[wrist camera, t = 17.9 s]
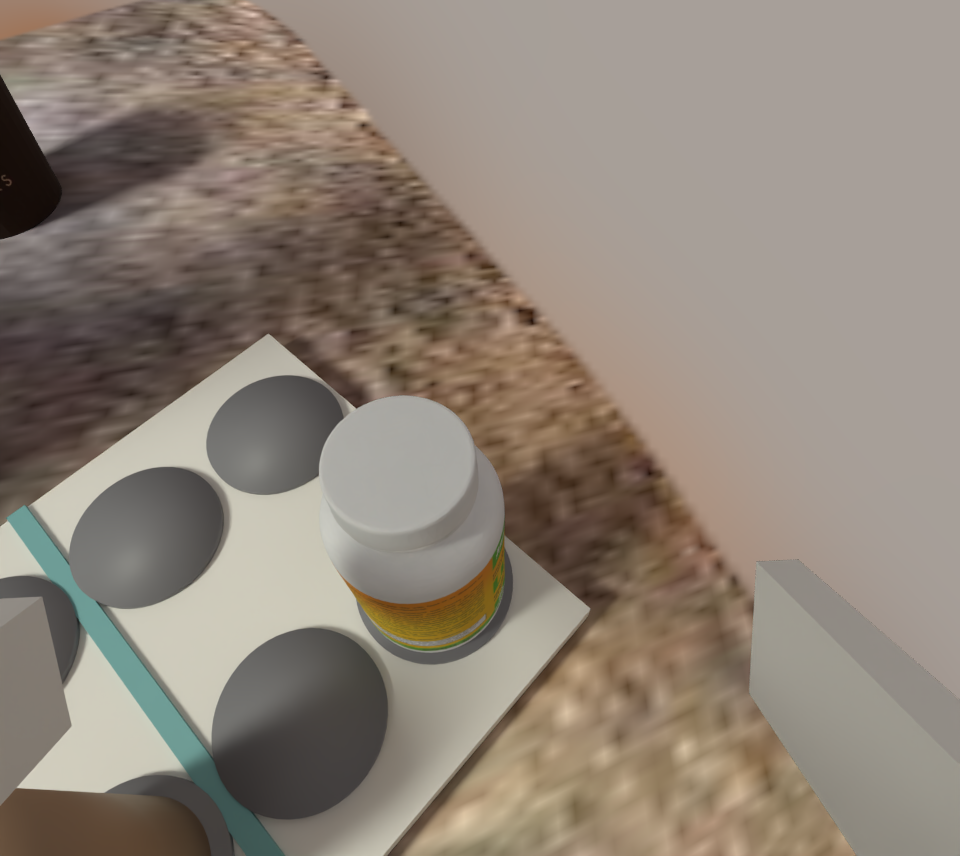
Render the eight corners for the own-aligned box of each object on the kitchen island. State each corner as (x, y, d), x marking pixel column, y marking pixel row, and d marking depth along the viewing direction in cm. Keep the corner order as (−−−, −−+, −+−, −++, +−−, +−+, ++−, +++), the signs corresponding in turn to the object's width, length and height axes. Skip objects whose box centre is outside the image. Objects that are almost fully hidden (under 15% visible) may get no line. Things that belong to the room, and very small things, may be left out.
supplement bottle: (524, 630, 23) (535, 525, 15) (379, 675, 22) (306, 592, 14) (481, 500, 26) (471, 351, 17) (351, 538, 25) (276, 400, 17)
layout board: (-86, 1418, 15) (-757, 2103, 7) (-302, 772, 23) (-746, 749, 15) (587, 617, 25) (627, 520, 17) (275, 348, 32) (198, 192, 24)
